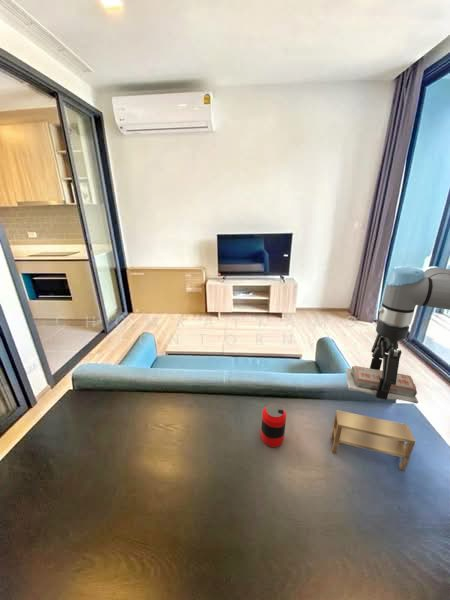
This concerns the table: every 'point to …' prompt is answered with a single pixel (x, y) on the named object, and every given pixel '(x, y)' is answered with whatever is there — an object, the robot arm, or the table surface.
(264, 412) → the soda can
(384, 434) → the rack
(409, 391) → the packaged product
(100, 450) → the table surface
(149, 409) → the table surface
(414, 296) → the robot arm
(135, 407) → the table surface
